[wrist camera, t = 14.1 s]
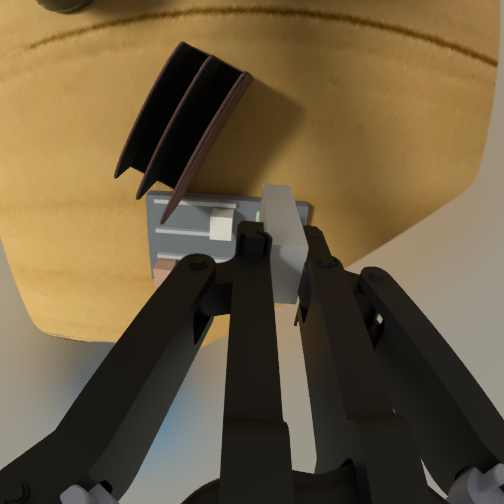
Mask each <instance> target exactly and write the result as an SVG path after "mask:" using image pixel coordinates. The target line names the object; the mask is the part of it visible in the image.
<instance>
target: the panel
mask: <svg viewBox="0 0 504 504" xmlns="http://www.w3.org/2000/svg"><path fill="white" fill-rule="evenodd" d="M172 194H173V192H172V191H149V192H148V193H147V194H146V207H147V224H148V238H149V250H150V261H151V272H152V279H154V273H153V268H154V266H155V264H156V262H157V260H158V258H165V259H176V265H177V263H178V262H179V261H180V260H181V259H182V258H183V257H184V256H186V255H189V254H194V253H200V254H206V255H208V256H211V257H212V258H213V259H214V260H215V262H216V263H221V262H225V261H228V260H230V259H231V258H233V256H234V255H235V248H236V236H237V226H238V224H239V223H240V222H241V221H242V220H244V221H255V222H259V213H260V205H261V198H260V197H248V196H235V195H222V194H207V193H190V192H187V193H186V194H185V196H184V197H183V198H182V200H181V201H180V203H179V204H178V206H177V207H176V209H175V210H174V211H173V213H172V214H171V215H170V216H169V218H168V219H167V221H166V222H165V224H162V225H160V220H161V217H162V215H163V213H164V210H165V208H166V206H167V204H168V202H169V200H170V198H171V196H172ZM295 203H296V207H297V210H298V213H299V217H300V220H301V223H302V225H306V222H307V216H308V210H309V206H308V203H307V202H303V201H295ZM213 208H226V209H234V214H233V230H232V237H231V241H224V240H211V239H210V216H211V213H212V209H213Z"/></svg>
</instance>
